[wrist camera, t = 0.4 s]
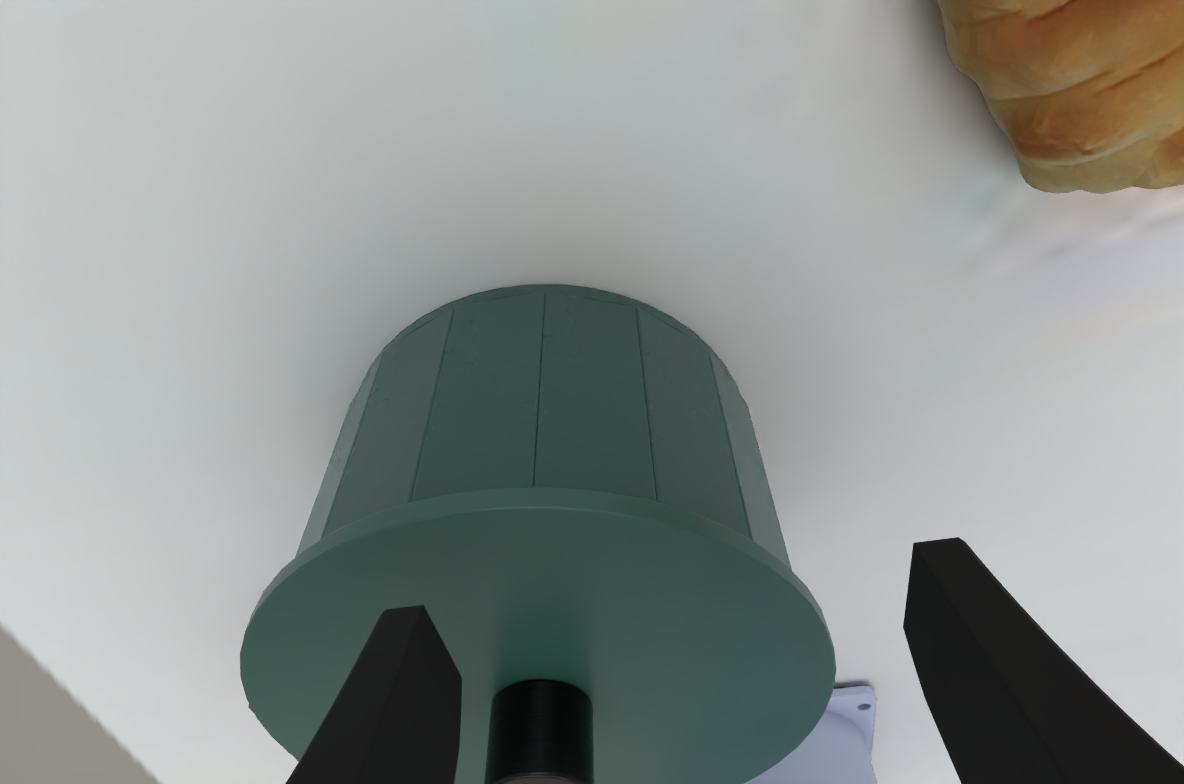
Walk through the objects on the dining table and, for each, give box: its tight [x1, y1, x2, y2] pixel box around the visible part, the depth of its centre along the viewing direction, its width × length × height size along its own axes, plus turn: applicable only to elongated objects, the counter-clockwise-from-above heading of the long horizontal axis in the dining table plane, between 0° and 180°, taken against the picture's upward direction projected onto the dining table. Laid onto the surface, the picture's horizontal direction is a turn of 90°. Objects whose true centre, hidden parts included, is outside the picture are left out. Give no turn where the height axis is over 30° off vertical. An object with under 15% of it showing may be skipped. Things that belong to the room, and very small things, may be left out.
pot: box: [295, 285, 792, 571], centre depth 20 cm, size 12×12×8 cm
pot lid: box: [240, 487, 836, 784], centre depth 16 cm, size 13×13×3 cm
